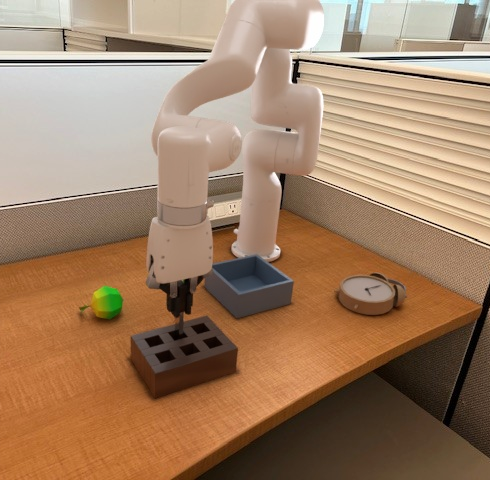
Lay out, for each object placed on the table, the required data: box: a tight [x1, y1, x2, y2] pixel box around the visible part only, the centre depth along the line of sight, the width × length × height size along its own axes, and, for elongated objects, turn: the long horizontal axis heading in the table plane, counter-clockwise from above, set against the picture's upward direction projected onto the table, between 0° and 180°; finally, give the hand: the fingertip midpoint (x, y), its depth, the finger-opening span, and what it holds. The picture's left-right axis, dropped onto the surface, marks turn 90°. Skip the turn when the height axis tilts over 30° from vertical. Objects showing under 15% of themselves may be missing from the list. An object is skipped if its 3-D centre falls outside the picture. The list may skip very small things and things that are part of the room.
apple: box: [78, 285, 124, 320], centre depth 94 cm, size 7×6×9 cm
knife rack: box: [130, 315, 239, 399], centre depth 82 cm, size 11×15×5 cm
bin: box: [203, 254, 295, 319], centre depth 103 cm, size 14×14×6 cm
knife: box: [174, 280, 187, 341], centre depth 81 cm, size 2×1×14 cm, turn 27°
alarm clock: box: [333, 271, 408, 316], centre depth 104 cm, size 11×5×15 cm
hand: (179, 311), depth 81 cm, fingers closed on knife, 1 cm apart
